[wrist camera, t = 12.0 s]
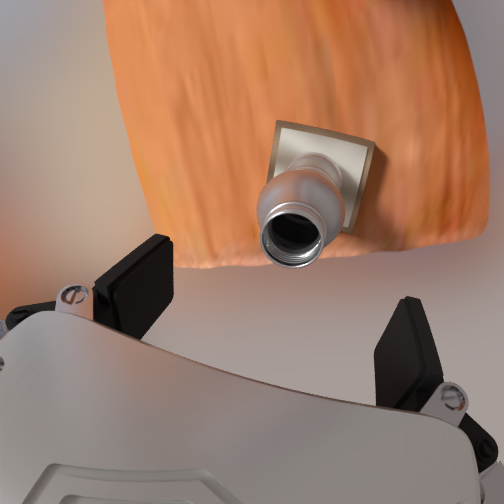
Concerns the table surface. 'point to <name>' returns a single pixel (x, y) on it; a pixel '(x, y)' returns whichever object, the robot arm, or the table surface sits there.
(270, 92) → the table surface
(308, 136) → the plinth
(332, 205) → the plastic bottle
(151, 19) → the table surface
